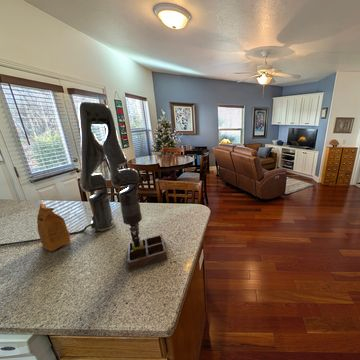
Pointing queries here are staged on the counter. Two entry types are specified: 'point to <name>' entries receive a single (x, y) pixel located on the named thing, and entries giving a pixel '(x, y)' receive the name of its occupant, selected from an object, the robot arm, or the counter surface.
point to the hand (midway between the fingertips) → (137, 243)
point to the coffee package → (51, 229)
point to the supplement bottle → (140, 243)
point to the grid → (147, 252)
